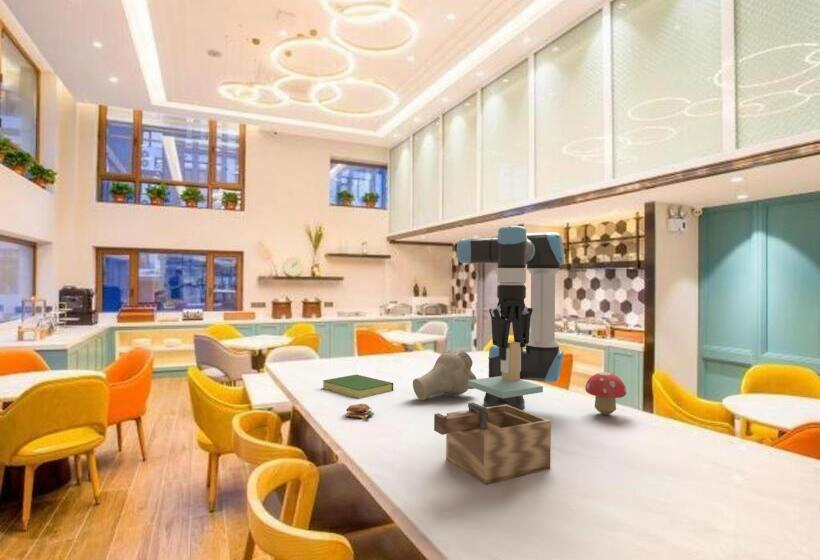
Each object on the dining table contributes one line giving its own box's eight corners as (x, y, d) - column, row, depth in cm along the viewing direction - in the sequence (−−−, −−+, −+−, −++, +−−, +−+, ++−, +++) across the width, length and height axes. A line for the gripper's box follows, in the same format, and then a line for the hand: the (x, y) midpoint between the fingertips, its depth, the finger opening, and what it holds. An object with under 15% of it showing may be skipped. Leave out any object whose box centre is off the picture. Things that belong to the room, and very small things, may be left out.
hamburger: (333, 421, 154) (333, 403, 154) (353, 410, 167) (353, 393, 167) (371, 426, 149) (371, 407, 149) (389, 415, 162) (389, 397, 162)
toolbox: (505, 446, 131) (506, 386, 131) (550, 468, 116) (551, 400, 116) (431, 461, 119) (432, 395, 119) (470, 488, 104) (471, 412, 104)
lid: (506, 380, 129) (506, 339, 129) (542, 392, 117) (543, 346, 117) (468, 385, 123) (468, 342, 123) (502, 398, 111) (502, 350, 111)
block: (480, 422, 113) (480, 407, 113) (489, 426, 110) (489, 410, 110) (434, 430, 107) (434, 413, 107) (442, 434, 104) (442, 417, 104)
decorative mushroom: (578, 414, 164) (579, 372, 164) (593, 407, 174) (594, 367, 174) (618, 422, 155) (618, 377, 155) (631, 414, 165) (631, 372, 165)
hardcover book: (393, 391, 196) (393, 382, 196) (359, 399, 183) (359, 390, 183) (355, 382, 213) (355, 374, 213) (321, 388, 200) (321, 380, 200)
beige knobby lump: (421, 374, 167) (479, 349, 182) (389, 356, 184) (444, 335, 199) (427, 426, 173) (482, 399, 188) (395, 404, 190) (448, 380, 205)
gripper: (525, 283, 132) (524, 366, 132) (478, 284, 124) (477, 371, 124) (544, 284, 125) (543, 371, 125) (496, 284, 117) (495, 377, 118)
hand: (510, 371), depth 125 cm, fingers closed on lid, 3 cm apart
